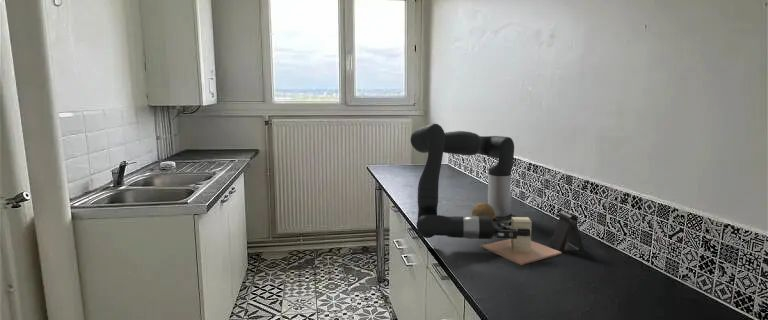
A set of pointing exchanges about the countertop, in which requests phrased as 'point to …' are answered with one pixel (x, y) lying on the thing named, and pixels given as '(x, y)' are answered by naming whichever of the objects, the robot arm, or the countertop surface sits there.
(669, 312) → the countertop surface
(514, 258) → the terracotta tile
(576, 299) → the countertop surface
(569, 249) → the phone stand
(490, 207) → the natural sponge
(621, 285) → the countertop surface
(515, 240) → the maple block
